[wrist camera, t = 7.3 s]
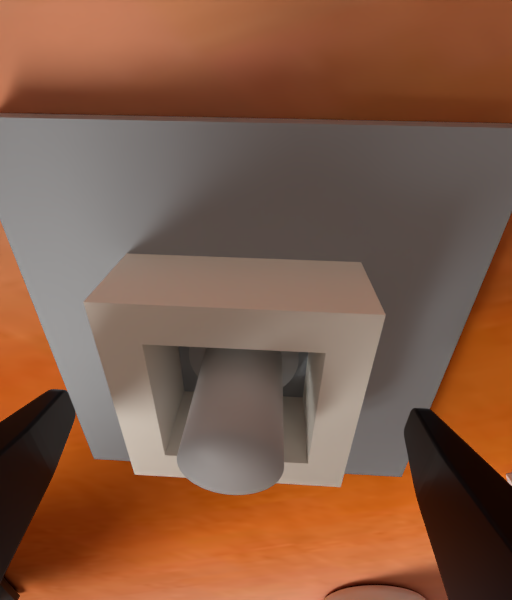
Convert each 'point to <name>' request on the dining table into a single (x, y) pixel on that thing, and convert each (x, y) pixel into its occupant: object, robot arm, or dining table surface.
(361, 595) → the milk bottle
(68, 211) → the post stand
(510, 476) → the grater
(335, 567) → the dining table surface
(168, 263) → the white square frame
